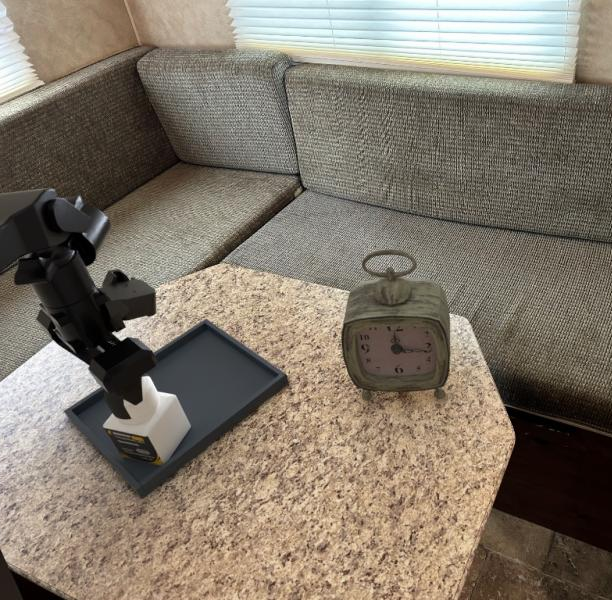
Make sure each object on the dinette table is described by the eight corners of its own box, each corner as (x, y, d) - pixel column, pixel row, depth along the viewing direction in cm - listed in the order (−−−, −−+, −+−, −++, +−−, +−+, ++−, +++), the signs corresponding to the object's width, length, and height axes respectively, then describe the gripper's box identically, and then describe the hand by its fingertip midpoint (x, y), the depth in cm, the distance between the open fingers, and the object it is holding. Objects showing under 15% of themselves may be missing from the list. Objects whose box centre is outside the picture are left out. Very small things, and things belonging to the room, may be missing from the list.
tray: (141, 499, 80) (136, 490, 79) (69, 419, 92) (63, 410, 91) (289, 383, 94) (286, 373, 92) (209, 327, 106) (206, 318, 104)
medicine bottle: (121, 457, 85) (85, 401, 77) (151, 418, 90) (120, 361, 82) (164, 467, 83) (132, 410, 75) (192, 426, 88) (164, 369, 80)
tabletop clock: (353, 408, 89) (325, 272, 73) (360, 363, 96) (335, 230, 80) (453, 407, 87) (445, 268, 71) (452, 362, 94) (445, 226, 78)
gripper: (174, 285, 67) (213, 381, 77) (96, 233, 78) (140, 323, 88) (79, 341, 61) (135, 437, 71) (8, 276, 72) (66, 368, 82)
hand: (120, 386), depth 78 cm, fingers open, 9 cm apart
